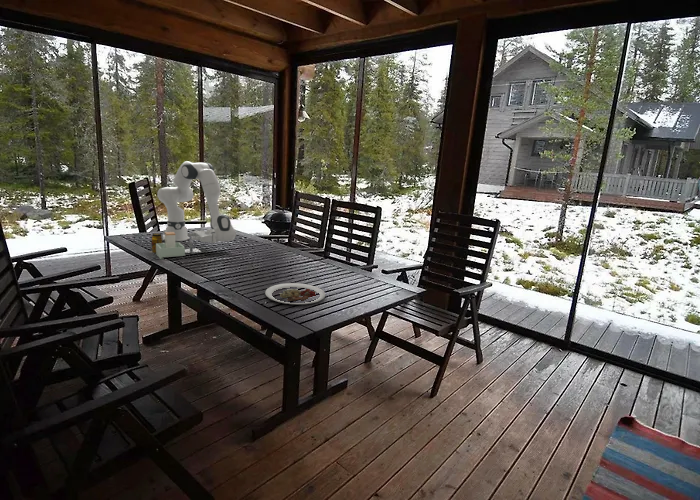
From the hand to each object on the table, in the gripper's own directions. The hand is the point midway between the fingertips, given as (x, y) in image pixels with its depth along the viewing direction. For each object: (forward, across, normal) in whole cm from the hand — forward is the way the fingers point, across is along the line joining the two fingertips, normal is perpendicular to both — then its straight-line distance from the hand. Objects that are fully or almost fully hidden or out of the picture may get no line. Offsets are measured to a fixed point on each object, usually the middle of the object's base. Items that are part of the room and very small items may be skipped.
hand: (189, 236), depth 250 cm
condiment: (+16, -13, +12) cm, 24 cm away
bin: (+12, 0, +12) cm, 17 cm away
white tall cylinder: (+12, 0, +11) cm, 16 cm away
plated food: (-28, +94, +13) cm, 99 cm away
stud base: (-2, -5, +12) cm, 13 cm away
